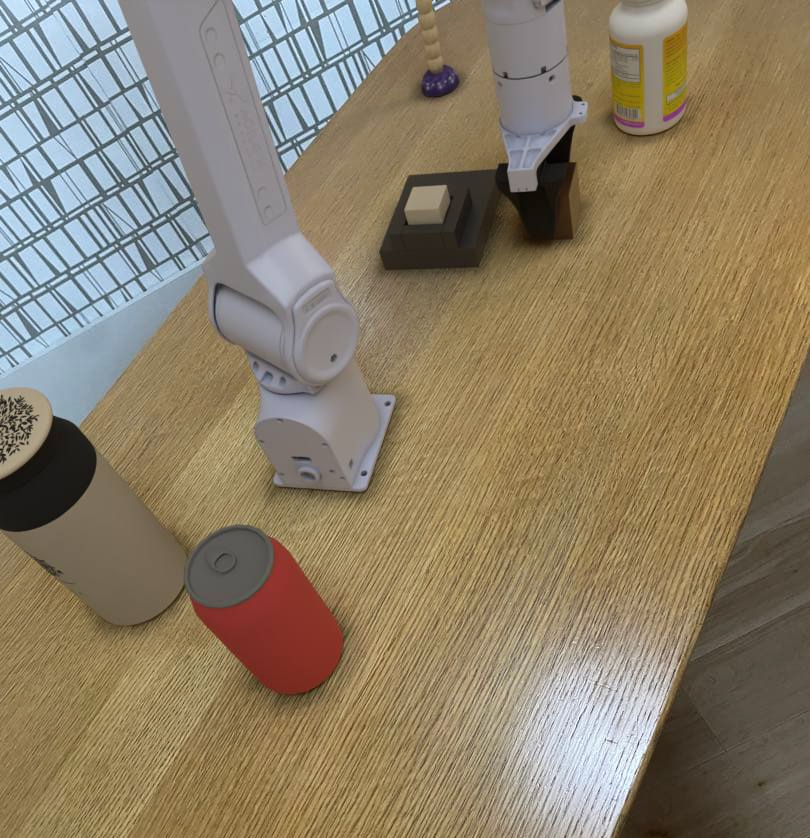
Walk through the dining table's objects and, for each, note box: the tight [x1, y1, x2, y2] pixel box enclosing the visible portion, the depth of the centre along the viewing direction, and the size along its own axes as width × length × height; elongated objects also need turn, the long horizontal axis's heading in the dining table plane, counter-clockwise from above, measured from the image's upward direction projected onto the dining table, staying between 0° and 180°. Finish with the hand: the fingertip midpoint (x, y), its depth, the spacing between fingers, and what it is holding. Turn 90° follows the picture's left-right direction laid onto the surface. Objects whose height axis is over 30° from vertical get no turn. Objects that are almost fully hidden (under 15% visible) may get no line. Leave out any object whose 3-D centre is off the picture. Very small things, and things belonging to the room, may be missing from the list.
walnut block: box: [518, 161, 582, 242], centre depth 74 cm, size 4×4×4 cm
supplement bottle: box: [608, 0, 689, 136], centre depth 75 cm, size 7×7×13 cm
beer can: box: [183, 523, 344, 695], centre depth 53 cm, size 7×7×12 cm
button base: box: [378, 168, 502, 271], centre depth 77 cm, size 11×9×4 cm
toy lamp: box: [414, 0, 460, 98], centre depth 86 cm, size 5×5×17 cm
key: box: [404, 185, 450, 225], centre depth 74 cm, size 3×3×2 cm
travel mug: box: [0, 386, 188, 626], centre depth 57 cm, size 8×8×18 cm
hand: (548, 211), depth 74 cm, fingers open, 6 cm apart
